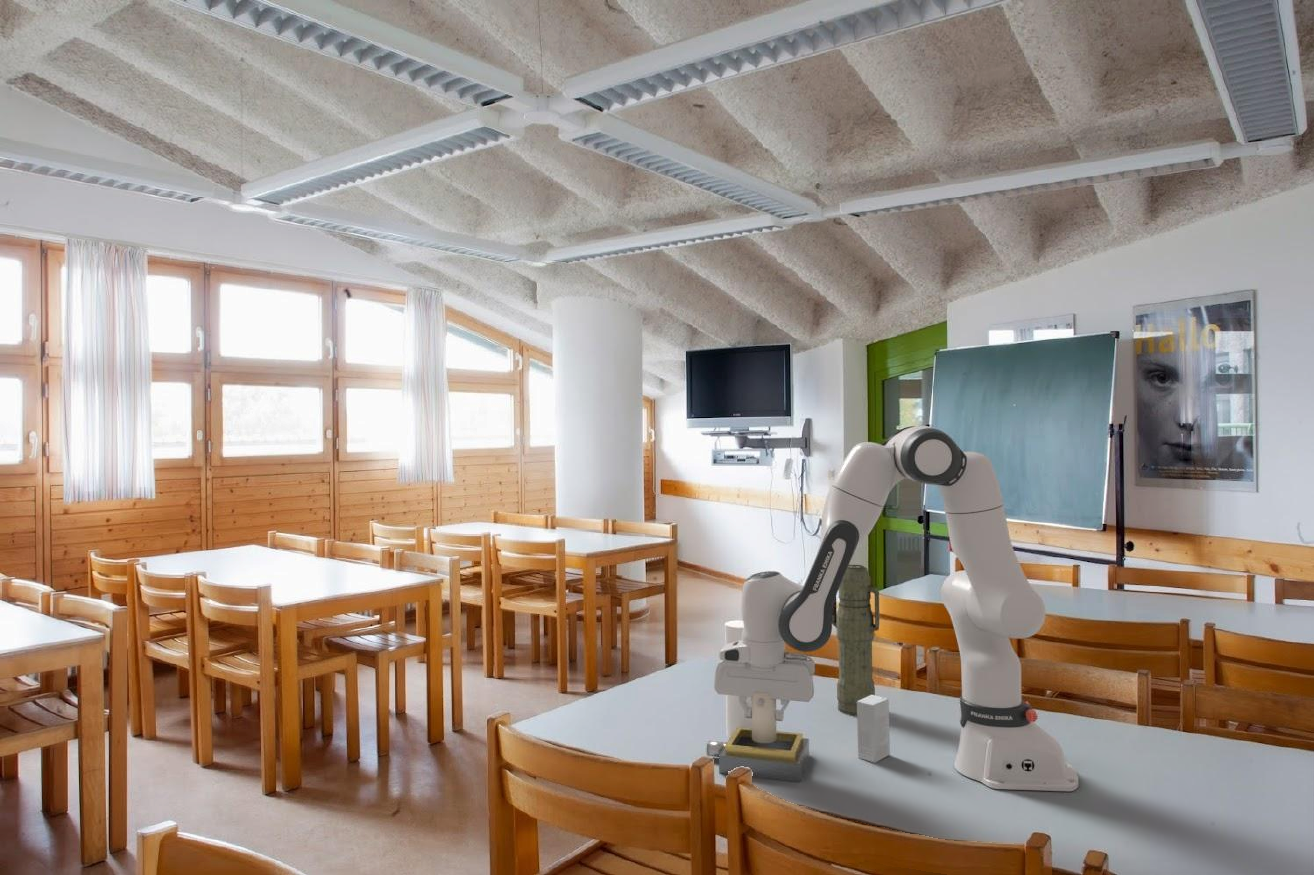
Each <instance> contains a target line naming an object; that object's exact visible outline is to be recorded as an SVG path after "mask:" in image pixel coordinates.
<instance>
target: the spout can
mask: <svg viewBox="0 0 1314 875" xmlns="http://www.w3.org/2000/svg"><path fill="white" fill-rule="evenodd" d="M776 710H777V699H772V698H771V693H760V692H754V695H753V697H752V740H753V741H755V742H758V743H772V742H775V741H776V731H777V721H776V720H775V717H776V716H775V712H776Z"/></svg>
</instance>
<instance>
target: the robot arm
mask: <svg viewBox="0 0 1314 875" xmlns="http://www.w3.org/2000/svg"><path fill="white" fill-rule="evenodd" d="M904 479H906V480H909V481H913V482H915V483H916V482H917V483H921V484H925V485H935V486H938V488H939V490H940V492H941V496H942V501H943V507H944V513H945V519H946V525H947V530H948V535H949V536H948V537H949V543H950V548H951V550H952V552H953V553H954V555H955V557H956V558H957V559H958V560H959V562H960V563H961V565H962V567H963V569H964V570H957V571H955V572H953V573H951V574H948V576H947V577H946V578H945V580H944V582H943V583H942V586H941V590H940V597H941V602H942V603H943V605H944V607H945V609H946V611H947V612H948V614H949V616H950V619H951V623H952V626H953V630H954V633H955V637H956V640H957V646H958V650H959V653H960V654H959V656H960V667H961V695H960V696H959V704H958V707H959V708H958V709H959V710H958V711H959V712H958V713H959V714H958V716H959V723H960V726H961V727H960V735H959V743H958V748H957V754H956V757H955V761H954V763H953V767H954V769H956V772H958V773H960V774H961V775H963V776H965V777H966V778H970V779H972V780H975V781H978V782H980V783H982V784H984V785H985V786H987V787H989V788H990V789H995V790H1017V791H1019V790H1020V791H1023V790H1024V791H1045V792H1046V791H1047V792H1048V791H1050V792H1074V791H1075V790H1077V789H1078V788H1079V785H1080V782H1079V776H1078V774H1077V771H1076V770H1075V768H1074V767H1073V766H1072V765H1071V764H1069V763H1068V762H1066V760H1065V759H1066V758H1065V755H1064V752H1063V749H1062V746H1061V745H1060V743H1059V742H1058V741H1057V740H1056V738H1055V737H1053V736H1052V735H1051V734H1050V733H1048V732H1047V731H1046V730H1044V728H1041V726H1039V725H1038V724H1037V723H1036V721H1038V718H1039V717H1038V715H1037V712H1036V710H1034V709H1033V706H1032V705H1031V704H1030V703H1029V702H1028V701H1024V700H1023V699H1022V664H1021V661H1020V658H1019V656H1018V655H1017V653H1016V652H1015V650H1014V648H1013V646H1012V643H1011V641H1010V639H1027V638H1031V637H1032V636H1034V635H1036V634H1037V633H1038V632H1039V631H1040V629H1042V627H1043V625H1044V623H1045V619H1046V607H1045V606H1046V605H1045V603H1044V601H1043V599H1042V597H1041V596H1040V595H1039V594H1038V593H1037V591H1035V589H1034V587H1032V585H1031V584H1030V582H1029V580H1028V578H1027V576H1026V575H1025V572H1024V570H1023V568H1022V566H1021V564H1020V561H1019V560H1018V556H1017V555H1016V553H1015V550H1014V547H1013V544H1012V541H1011V536H1010V532H1009V527H1008V522H1007V517H1006V511H1005V510H1006V509H1005V504H1004V501H1003V495H1002V491H1001V486H1000V483H999V480H998V477H997V474H996V470H995V468H994V466H993V463H992V461H991V460H990V458H989V457H988V456H986V455H984V454H983V453H980V452H976V451H963V450H962V449H961V448H960V447H959V445H958V444H957V443H956V442H955V441H954V440H953V438H952V437H951V436H949V434H947V433H946V432H944V431H942V430H940V429H937V428H935V427H932V426H928V425H911V426H907V427H906V426H905V427H904V428H901V429H900V430H898V431H897V432H895V433H893V434H892V436H889V438H888V439H886V440H885V441H883V442H882V443H881V444H880V443H877V442H872V441H863V442H860V443H856V445H854V446H853V447H852V448H851V450H850V451H849V453H848V454H847V456H846V457H845V459H844V460H843V462H842V463H841V466H840V467H839V469H838V471H837V472H836V474H835V477H834V479H833V481H832V483H831V486H830V488H829V489H828V493H827V496H826V499H825V502H824V506H823V510H822V515H821V528H820V529H821V530H820V540H819V547H818V550H817V553H816V556H815V559H814V561H813V563H812V565H811V567H810V570H809V573H808V575H807V577H806V580H805V582H804V584H803V585H801V584H798V583H797V582H794V581H792V580H791V579H788V578H787V577H785V576H784V575H783V574H782V573H781V572H779V571H775V570H774V571H771V570H770V571H769V570H768V571H759V572H758V573H754V574H752V575H751V574H750V575H749V576H748V577H747V578H746V580H745V581H744V583H743V587H742V592H741V605H740V606H741V613H740V614H741V619H742V620H743V624H744V627H743V631H742V640H740V641H736V642H732V643H728V644H727V645H725V644H724V645H723V647H722V648H721V649H720V651H719V659H720V661H719V662H718V663H717V664H716V668H715V671H714V682H713V684H714V686H713V688H714V691H715V692H716V693H717V694H718V695H723V696H726V695H733V696H739V702H740V704H741V706H742V707H743V709H744V717H745V718H752V707H749V706H748V704H747V702H746V699H747V697H753V695H754V692H760V693H771V698H772V699H776V700H780V705H781V706H782V707H781V708H780V709H776V712H775V716H776V717H775V720H776V722H777V721H778V722H783V721H784V718H785V710H787V707H788V706H789V704H790V701H791V702H792V701H793V702H802V703H803V702H804V703H809V702H810V701H811V700H812V699H813V698H814V695H815V687H814V686H815V685H814V679H813V676H814V675H815V671H816V668H815V666H816V664H815V661H814V659H813V658H812V657H811V656H808V654H805V653H809V652H815V651H818V650H819V649H821V648H823V647H824V646H825V645H826V644H827V643H828V641H829V640H830V638H831V635H832V629H833V624H832V606H833V603H834V600H835V597H836V598H837V594H838V593H839V587H840V585H841V582H842V580H843V578H844V575H845V573H846V570H847V568H848V566H849V565H850V563H851V562H852V560H853V558H854V556H855V554H856V553H857V552H858V550H859V549H860V547H861V546H862V545H863V543H864V542H865V540H866V539H867V537H868V536H869V535H870V533H871V531H872V530H873V528H874V527H875V525H876V523H877V521H878V520H879V518H880V516H881V514H882V512H883V510H884V507H885V505H886V502H887V500H888V497H889V494H890V492H892V489H893V488H894V487H895V486H896V485H897V484H898V483H899V482H901V481H903V480H904ZM786 644H787V645H788V646H789V647H790V648H791V649H793V650H796V651H798V652H802V653H799V654H798V653H791V652H786Z"/></svg>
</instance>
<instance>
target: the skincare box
mask: <svg viewBox="0 0 1314 875" xmlns="http://www.w3.org/2000/svg"><path fill="white" fill-rule="evenodd" d="M889 701H890V700H889V698H888V697H884V696H880V695H876V694H875V695H870V696H868V697H865V698H863V699H861V700H859V701H857V716H856V717H857V718H856V719H857V720H856V724H857V757H858V759H862V760H864V761H868V762H871V763H877V762H880V761H881V760H882V759H884V758H886V757H888V756H890V754H891V749H890V748H891V747H890V746H891V744H890V742H891V741H890V740H891V739H890V737H891V736H890V708H889V707H890V702H889Z"/></svg>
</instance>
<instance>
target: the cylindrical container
mask: <svg viewBox="0 0 1314 875" xmlns="http://www.w3.org/2000/svg"><path fill="white" fill-rule="evenodd" d="M743 627H744V624H743V619H742V620H736V619H735V620H731V621H726V622H725V623H724V646H725V645H727V644H728V643H732V642H736V641H740V640H742V631H743ZM746 702H747V704H748V706H749V707H752V697H747V699H746ZM737 727H738V728H749V729H752V718H745V717H744V709H743V707H742V706H741V704H740V702H739V696H733V695H725V730H726V731H725V732H726V734H725V735H726V737H727V738H729V739H730V737H731V736H732V734H733V733H734V732H735V730H736V728H737Z"/></svg>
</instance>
